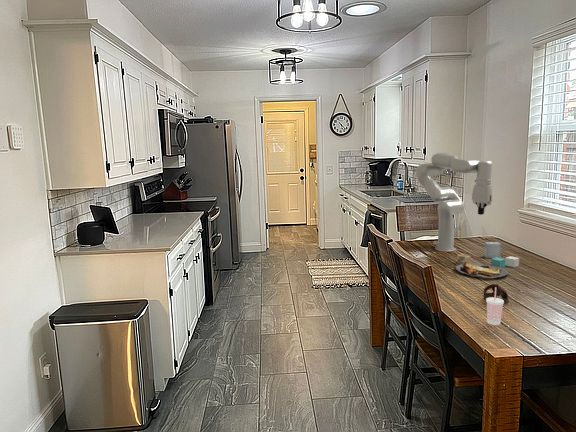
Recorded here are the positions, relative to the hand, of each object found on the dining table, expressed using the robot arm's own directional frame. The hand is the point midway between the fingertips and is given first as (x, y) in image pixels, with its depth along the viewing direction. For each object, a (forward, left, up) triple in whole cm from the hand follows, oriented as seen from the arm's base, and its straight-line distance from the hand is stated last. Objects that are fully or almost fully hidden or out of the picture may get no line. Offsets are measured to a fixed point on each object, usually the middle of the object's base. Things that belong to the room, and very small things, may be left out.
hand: (480, 214), depth 251 cm
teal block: (+17, -8, -26) cm, 32 cm away
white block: (+20, 0, -26) cm, 33 cm away
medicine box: (+4, +8, -26) cm, 28 cm away
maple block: (+1, -16, -26) cm, 31 cm away
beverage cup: (+55, -80, -26) cm, 101 cm away
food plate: (+17, -25, -27) cm, 41 cm away
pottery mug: (+43, -57, -27) cm, 76 cm away
